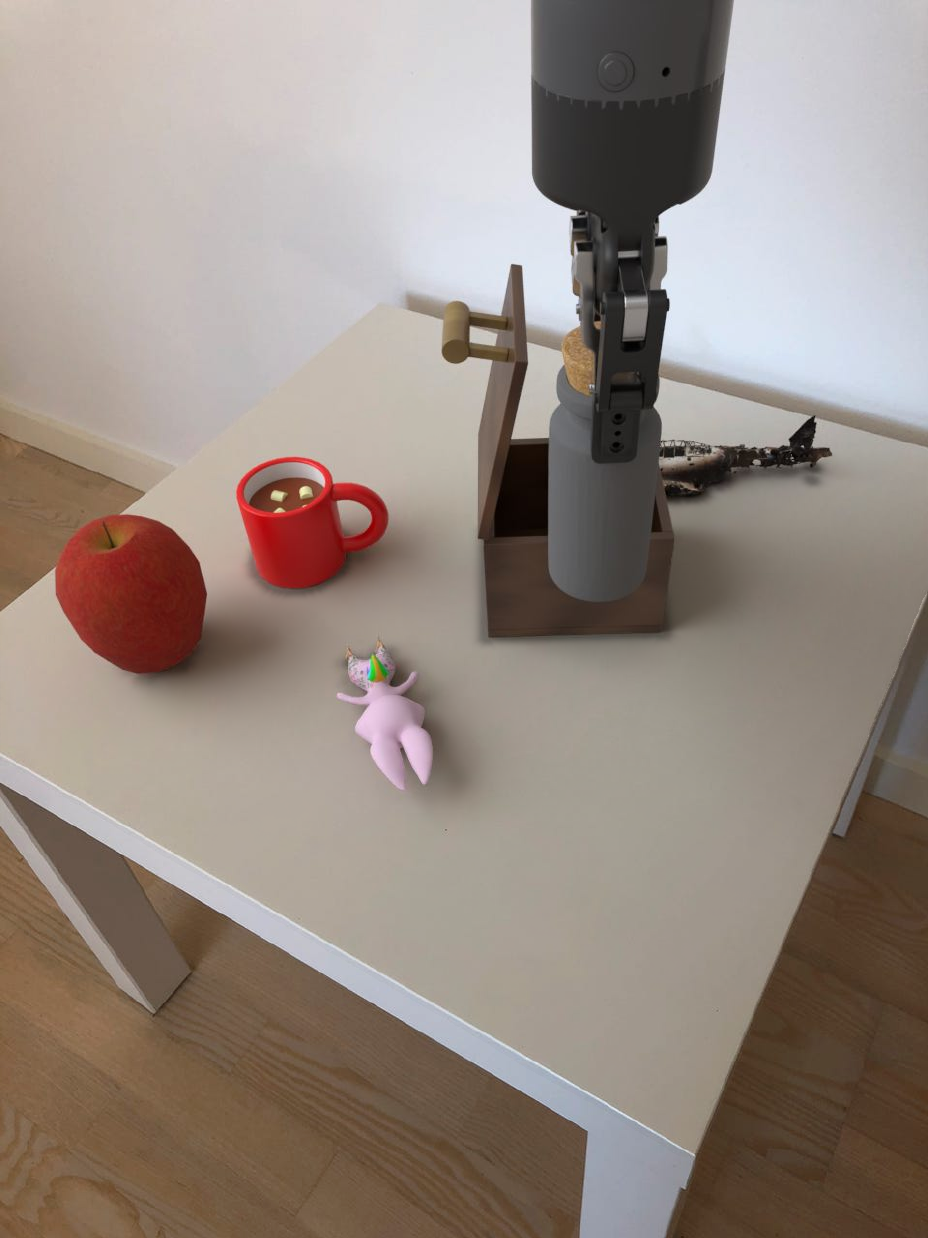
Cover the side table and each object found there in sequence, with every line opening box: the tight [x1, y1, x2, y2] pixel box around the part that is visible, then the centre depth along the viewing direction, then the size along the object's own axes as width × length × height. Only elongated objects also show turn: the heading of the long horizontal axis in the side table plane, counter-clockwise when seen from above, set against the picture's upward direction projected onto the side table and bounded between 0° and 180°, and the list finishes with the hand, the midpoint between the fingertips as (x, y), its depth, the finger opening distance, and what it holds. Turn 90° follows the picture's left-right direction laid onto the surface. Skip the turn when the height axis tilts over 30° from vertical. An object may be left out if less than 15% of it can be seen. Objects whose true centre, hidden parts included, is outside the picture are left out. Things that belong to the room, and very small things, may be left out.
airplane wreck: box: [659, 414, 833, 497], centre depth 85 cm, size 6×18×6 cm, turn 94°
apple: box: [54, 513, 208, 675], centre depth 70 cm, size 10×10×14 cm
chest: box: [482, 437, 676, 638], centre depth 75 cm, size 14×13×10 cm
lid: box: [441, 263, 529, 541], centre depth 66 cm, size 14×13×5 cm
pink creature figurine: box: [336, 634, 434, 792], centre depth 67 cm, size 6×6×15 cm
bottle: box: [548, 321, 663, 602], centre depth 51 cm, size 6×6×15 cm
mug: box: [235, 456, 390, 589], centre depth 80 cm, size 8×12×8 cm, turn 95°
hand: (606, 420), depth 49 cm, fingers closed on bottle, 5 cm apart
